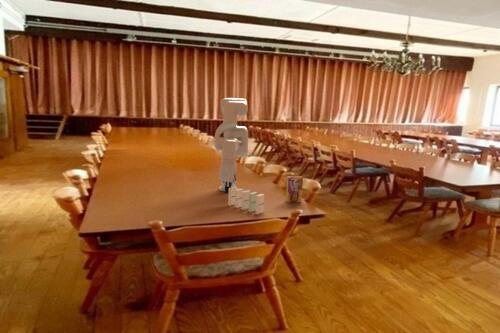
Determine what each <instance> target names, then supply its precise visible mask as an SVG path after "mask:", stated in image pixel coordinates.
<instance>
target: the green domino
mask: <svg viewBox="0 0 500 333" xmlns="http://www.w3.org/2000/svg"><path fill="white" fill-rule="evenodd" d="M256 195H258V192H256V191H253V192H250V193H249V207H248V209H247V210H248V212H249V213H252V212H256Z"/></svg>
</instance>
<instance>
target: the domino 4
mask: <svg viewBox="0 0 500 333" xmlns="http://www.w3.org/2000/svg"><path fill="white" fill-rule="evenodd" d="M264 212H265V194H264V193H260V194H257V195H256V210H255V214H256V215H259V214H263V213H264Z"/></svg>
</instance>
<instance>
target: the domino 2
mask: <svg viewBox="0 0 500 333" xmlns="http://www.w3.org/2000/svg"><path fill="white" fill-rule="evenodd" d="M243 191H245V190H244V188H241V187H240V188H238V189H237V190H235V205H234V208H236V209H238V208H241V206H242V192H243Z"/></svg>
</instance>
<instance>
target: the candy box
mask: <svg viewBox="0 0 500 333" xmlns="http://www.w3.org/2000/svg"><path fill="white" fill-rule="evenodd" d="M303 180H304V177H303V176H301V175H300V176H299V175H298V176H296V175H287V177H286V189H285V190H286V191H285V192H286V193H285V201H286V202H287V203H302V200H303V198H302V197H303Z"/></svg>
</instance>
